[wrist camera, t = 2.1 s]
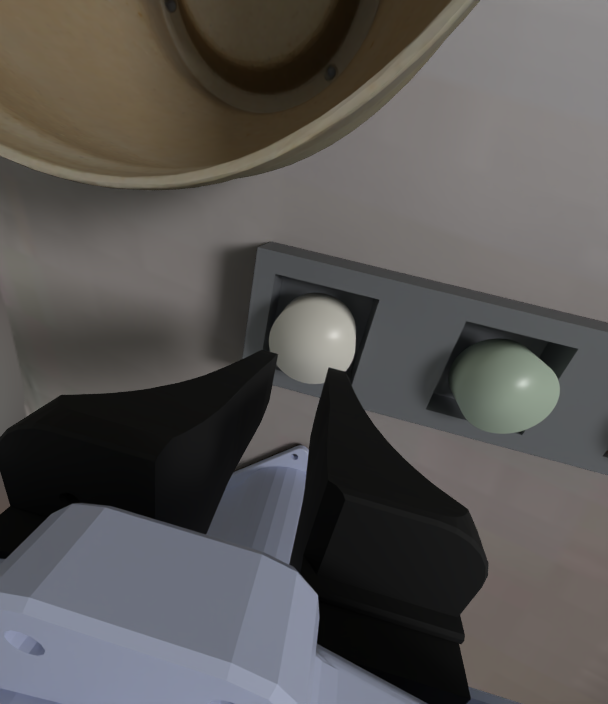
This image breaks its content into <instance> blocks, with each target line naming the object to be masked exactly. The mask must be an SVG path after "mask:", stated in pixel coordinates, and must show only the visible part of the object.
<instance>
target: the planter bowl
mask: <svg viewBox="0 0 608 704" xmlns="http://www.w3.org/2000/svg"><path fill="white" fill-rule="evenodd" d="M479 1H480V0H0V156H2V157H4V158H7V159H9V160H11V161H14V162H16V163H18V164H21V165H23V166H26V167H28V168H31V169H33V170H37V171H40V172H43V173H46V174H49V175H52V176H56V177H60V178H63V179H67V180H71V181H75V182H79V183H83V184H90V185H96V186H102V187H108V188H118V189H137V190H173V189H185V188H195V187H200V186H206V185H211V184H217V183H222V182H226V181H229V180H232V179H237V178H243V177H249V176H253V175H258V174H262V173H266V172H269V171H272V170H276V169H279V168H282V167H285V166H288V165H291V164H293V163H296V162H298V161H300V160H302V159H305V158H307V157H309V156H312V155H313V154H315V153H317V152H319V151H321V150H323V149H325V148H327V147H329V146H330V145H332V144H333V143H335V142H337V141H338V140H340V139H341V138H343V137H344V136H346V135H347V134H349V133H350V132H352V131H353V130H355V129H356V128H357V127H359V126H360V125H361V124H362V123H364V122H365V121H366V120H368V119H369V118H370V117H372V116H373V115H374V114H375V113H376V112H377V111H378V110H380V109H381V108H382V107H383V106H384V105H385V104H386V103H388V102H389V101H390V100H391V99H392V98H393V97H394V96H395V95H396V94H397V93H398V92H399V91H400V90H401V89H402V88H403V87H404V86H405V85H406V84H407V83H408V82H409V81H410V80H411V79H412V78H413V77H414V76H415V75H416V73H417V72H418V71H419V70H420V69H421V68H422V67H423V66H424V64H425V63H426V62H427V61H428V60H429V59H430V58H431V57H432V55H433V54H434V53H435V52H436V50H437V49H438V48H439V47H440V46H441V44H442V43H443V42H444V41H445V39H446V38H447V37H448V36H449V35H450V34H451V33H452V32H453V31H454V30H455V29H456V27H457V26H458V25H459V24H460V23H461V22H462V21H463V20H464V19H465V18H466V16H467V15H468V14H469V13H470V12H471V10H472V9H473V8H474V7H475V6H476V5H477V3H478V2H479Z"/></svg>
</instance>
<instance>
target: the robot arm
mask: <svg viewBox="0 0 608 704" xmlns="http://www.w3.org/2000/svg"><path fill="white" fill-rule="evenodd" d="M277 358H278V354H276V353H273V352H269V351H265V350H260V351H258V352H256V353H254V354H252V355H250V356H248V357H246V358H244V359H242V360H240V361H238V362H235V363H233V364H231V365H229V366H227V367H224V368H222V369H219V370H217V371H214V372H212V373H209V374H207V375H204V376H201V377H198V378H194V379H191V380H187V381H184V382H180V383H175V384H170V385H165V386H160V387H155V388H150V389H144V390H136V391H128V392H118V393H106V394H82V395H60V396H59V397H57V398H56V399H54V400H52V401H51V402H49V403H48V404H46V405H45V406H43V407H41V408H40V409H38V410H37V411H35V412H33V413H32V414H30V415H29V416H27V417H26V418H24V419H22V420H21V421H19V422H18V423H16V424H14V425H13V426H11V427H10V428H8V429H7V430H6V431H5V432H4V433H3V435H2V436H1V437H0V472H1V475H2V479H3V482H4V486H5V489H6V492H7V496H8V499H9V503H10V507H9V508H7V509H6V510H5V511H4V512H3V513H2V514H0V704H522V703H519V702H515V701H512V700H509V699H506V698H503V697H500V696H496V695H493V694H490V693H487V692H484V691H480V690H477V689H474V688H471V687H468V683H467V678H466V674H465V669H464V665H463V660H462V656H461V651H460V647H459V644H462V643H463V642H464V637H465V634H464V630H463V626H462V621H461V617H460V614H461V613H462V611H463V610H464V609H465V608H466V606H467V605H468V604H469V603H470V601H471V600H472V599H473V598H474V596H475V595H476V594H477V593H478V591H479V590H480V589H481V588H482V586H483V584H484V582H485V580H486V578H487V576H488V561H487V558H486V555H485V552H484V549H483V547H482V543H481V540H480V537H479V534H478V531H477V529H476V527H475V524H474V522H473V520H472V517H471V515H470V513H469V510H468V509H467V508H465V507H464V506H463V505H461V504H460V503H459V502H457V501H456V500H454V499H453V498H452V497H450V496H449V495H447V494H446V493H445V492H443V491H442V490H441V489H439V488H438V487H436V486H435V485H434V484H433V483H431V482H430V481H429V480H428V479H426V478H425V477H424V476H423V475H422V474H421V473H419V472H418V471H417V470H416V469H415V468H414V467H413V466H411V465H410V464H409V463H408V462H407V461H406V460H405V459H404V458H403V457H402V456H401V455H400V454H399V453H398V452H397V451H396V450H395V449H394V448H393V447H392V446H391V445H390V444H389V442H388V441H387V440H386V439H385V438H384V437H383V435H382V434H381V433H380V432H379V430H378V429H377V428H376V427H375V425H374V424H373V423H372V421H371V420H370V418H369V417H368V415H367V414H366V412H365V410H364V409H363V407H362V405H361V403H360V401H359V400H358V398H357V396H356V394H355V392H354V390H353V387H352V385H351V383H350V380H349V378H348V375H347V374H346V372H345V371H341V370H337V369H334V368H330V367H329V368H328V371H327V375H326V378H325V382H324V386H323V389H322V393H321V397H320V400H319V404H318V407H317V411H316V415H315V419H314V423H313V428H312V432H311V436H310V445H309V450H308V449H307V448H306V447H305V446H302V445H299V446H296V447H293V448H291V449H288V450H286V451H284V452H281V453H279V454H276V455H274V456H272V457H269V458H267V459H264V460H262V461H260V462H257V463H255V464H252V465H250V466H247V467H245V468H243V469H240V470H238V471H235V472H234V470H235V468H236V466H237V464H238V462H239V461H240V459H241V457H242V455H243V454H244V452H245V450H246V448H247V446H248V445H249V443H250V441H251V439H252V437H253V436H254V434H255V432H256V430H257V428H258V426H259V425H260V423H261V420H262V418H263V415H264V413H265V410H266V408H267V405H268V403H269V400H270V394H271V389H272V384H273V379H274V373H275V368H276V363H277ZM293 454H296V455H298V456H294V455H293Z"/></svg>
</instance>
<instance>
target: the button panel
mask: <svg viewBox="0 0 608 704" xmlns="http://www.w3.org/2000/svg"><path fill="white" fill-rule="evenodd" d="M307 293H324V294H328V295H331V296H333V297H335V298H337V299H339V300H340V301H341V302H343V303H344V304H345V305H346V306H347V307H348V309H349V310H350V312H351V313H352V315H353V318H354V320H355V325H356V344H355V354H354V358H353V360H352V363H351V364H350V366H349V368H348V369H347V370H346V371H345V372H346V374H347V375H348V378H349V380H350V383H351V385H352V387H353V390H354V392H355V394H356V396H357V398H358V400H359V401H360V403H361V405H362V407H363V409H364V410H367V411H371V412H375V413H378V414H382V415H386V416H389V417H393V418H397V419H401V420H404V421H408V422H412V423H415V424H419V425H423V426H427V427H430V428H434V429H438V430H441V431H445V432H449V433H453V434H456V435H460V436H464V437H468V438H471V439H475V440H479V441H482V442H486V443H490V444H494V445H497V446H501V447H505V448H508V449H512V450H516V451H520V452H523V453H527V454H531V455H534V456H538V457H542V458H546V459H549V460H553V461H557V462H561V463H564V464H568V465H572V466H575V467H579V468H583V469H587V470H590V471H594V472H598V473H601V474H605V475H608V323H606V322H602V321H598V320H594V319H590V318H586V317H582V316H577V315H573V314H569V313H565V312H561V311H557V310H553V309H548V308H544V307H540V306H536V305H532V304H528V303H524V302H519V301H515V300H511V299H507V298H503V297H499V296H495V295H490V294H486V293H482V292H478V291H474V290H470V289H466V288H462V287H457V286H453V285H449V284H445V283H441V282H437V281H433V280H428V279H424V278H420V277H416V276H412V275H408V274H404V273H399V272H395V271H391V270H387V269H383V268H379V267H375V266H370V265H366V264H362V263H358V262H354V261H350V260H346V259H342V258H337V257H333V256H329V255H325V254H321V253H317V252H313V251H308V250H304V249H300V248H296V247H292V246H288V245H284V244H279V243H275V242H269V243H267V244H264V245H262V246H259V247H258V248H257V255H256V263H255V270H254V277H253V284H252V292H251V299H250V306H249V314H248V321H247V328H246V336H245V343H244V350H243V358H242V359H244V358H246V357H248V356H250V355H252V354H254V353H256V352H258V351H260V350H265V351H269V352H270V348H269V335H270V331H271V328H272V326H273V324H274V322H275V321H276V319H277V318H278V317H279V315H280V314H281V313H282V311H283V310H284V309H285V307H286V306H287V305H288V304H289V303H290V302H291V301H292V300H294V299H295V298H297V297H299V296H301V295H303V294H307ZM496 338H501V339H509V340H513V341H516V342H518V343H520V344H522V345H524V346H525V347H526V348H528V349H529V350H530V351H531V352H532V353H533V354H535V355H536V356H537V357H538V358H539V359H540V360H542V361H543V362H544V363H545V364H546V365H547V366H548V367H550V368H551V369H552V370H553V372H554V373H555V374H556V376H557V378H558V381H559V385H560V394H559V399H558V401H557V404H556V406H555V407H554V409H553V410H552V412H551V413H550V414H549V415H548V416H547V417H546V418H545V419H544V420H542V421H541V422H540V423H538V424H537V425H535V426H533V427H531V428H529V429H526V430H523V431H520V432H515V433H508V434H497V433H490V432H486V431H483V430H481V429H479V428H477V427H475V426H473V425H472V424H471V423H470V422H468V421H467V419H466V418H465V417H464V415H463V414H462V412H461V410H460V408H459V405H458V403H457V401H456V399H455V397H454V395H453V393H452V391H451V389H450V386H449V371H450V368H451V366H452V364H453V362H454V360H455V359H456V358H457V356H458V355H459V354H460V353H461V352H463V351H464V350H465V349H466V348H468V347H469V346H471V345H473V344H475V343H478V342H480V341H484V340H488V339H496ZM272 385H274V386H278V387H282V388H285V389H289V390H293V391H296V392H300V393H304V394H308V395H311V396H315V397H319V398H320V397H321V393H322V389H323V386H324V383H322V384H307V383H302V382H299V381H297V380H294V379H292V378H291V377H289V376H287V375H286V374H285V373H284V372H283V371H282V370H281V369H280V368H279V367H278V366H277V365H276V368H275V373H274V379H273V384H272Z"/></svg>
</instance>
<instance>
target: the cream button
mask: <svg viewBox="0 0 608 704" xmlns="http://www.w3.org/2000/svg"><path fill="white" fill-rule="evenodd" d="M355 344H356V325H355V320H354V318H353V315H352V313H351V312H350V310H349V309H348V307H347V306H346V305H345V304H344V303H343V302H341V301H340V300H339V299H337V298H335V297H333V296H331V295H328V294H324V293H307V294H303V295H301V296H299V297H297V298H295V299H294V300H292V301H291V302H290V303H289V304H288V305H287V306H286V307H285V309H284V310H283V311H282V313H281V314H280V315H279V317H278V318H277V319H276V321H275V322H274V324H273V326H272V328H271V331H270V335H269V348H270V352H273V353H276V354H278V358H277V363H276V365H277V366H278V367H279V368H280V369H281V370H282V371H283V372H284V373H285V374H286V375H287V376H289V377H291V378H292V379H294V380H297V381H299V382H302V383H307V384H322V383H324V382H325V378H326V375H327V371H328V368H329V367H330V368H334V369H337V370H341V371H346V370H347V369H348V368H349V366H350V364H351V363H352V360H353V358H354V354H355Z"/></svg>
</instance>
